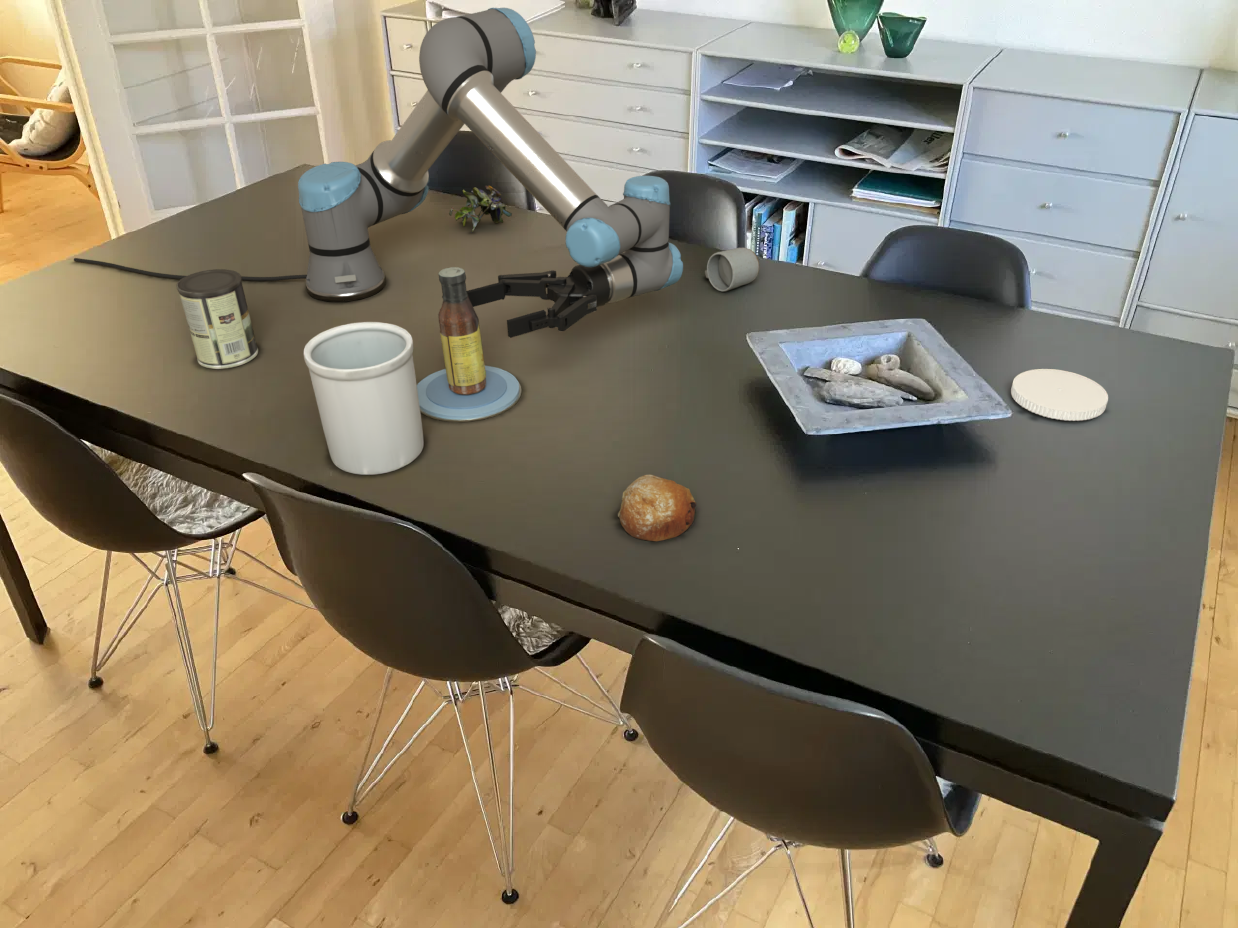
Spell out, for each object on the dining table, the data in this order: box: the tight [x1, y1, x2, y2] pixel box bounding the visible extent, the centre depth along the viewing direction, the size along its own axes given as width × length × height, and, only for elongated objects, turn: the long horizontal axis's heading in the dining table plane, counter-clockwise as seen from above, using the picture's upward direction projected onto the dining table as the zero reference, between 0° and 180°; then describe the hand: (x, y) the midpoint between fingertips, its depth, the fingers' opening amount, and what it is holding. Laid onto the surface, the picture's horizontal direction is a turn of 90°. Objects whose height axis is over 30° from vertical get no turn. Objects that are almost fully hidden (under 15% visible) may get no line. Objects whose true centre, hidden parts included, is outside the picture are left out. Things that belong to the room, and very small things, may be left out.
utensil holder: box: [303, 321, 425, 476], centre depth 142 cm, size 15×15×18 cm
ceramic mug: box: [704, 247, 760, 293], centre depth 196 cm, size 11×8×8 cm
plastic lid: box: [1010, 368, 1109, 422], centre depth 156 cm, size 14×14×2 cm
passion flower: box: [448, 185, 513, 234], centre depth 224 cm, size 11×11×12 cm
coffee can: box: [175, 268, 259, 370], centre depth 169 cm, size 10×10×14 cm
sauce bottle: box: [437, 266, 486, 395], centre depth 154 cm, size 7×6×20 cm
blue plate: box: [417, 365, 523, 423], centre depth 160 cm, size 18×18×1 cm
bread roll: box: [617, 473, 697, 542], centre depth 130 cm, size 10×10×8 cm
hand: (487, 314), depth 156 cm, fingers open, 13 cm apart
